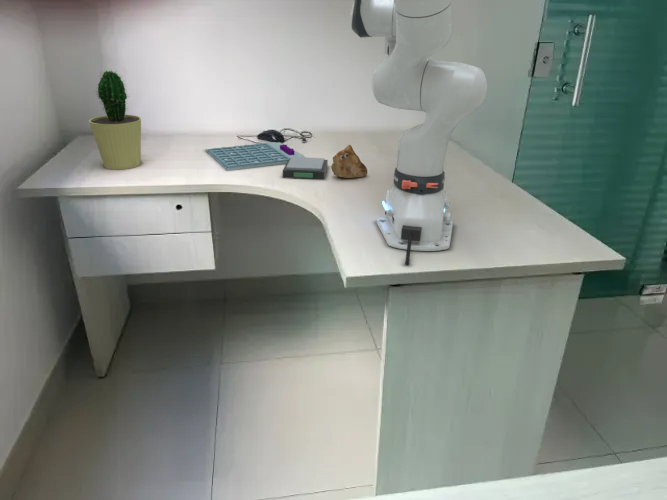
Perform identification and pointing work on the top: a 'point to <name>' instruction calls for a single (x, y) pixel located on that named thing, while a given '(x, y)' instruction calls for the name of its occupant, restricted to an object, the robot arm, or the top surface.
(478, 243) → the top surface
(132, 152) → the potted cactus
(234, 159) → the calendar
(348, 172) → the decorative rock
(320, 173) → the scale
